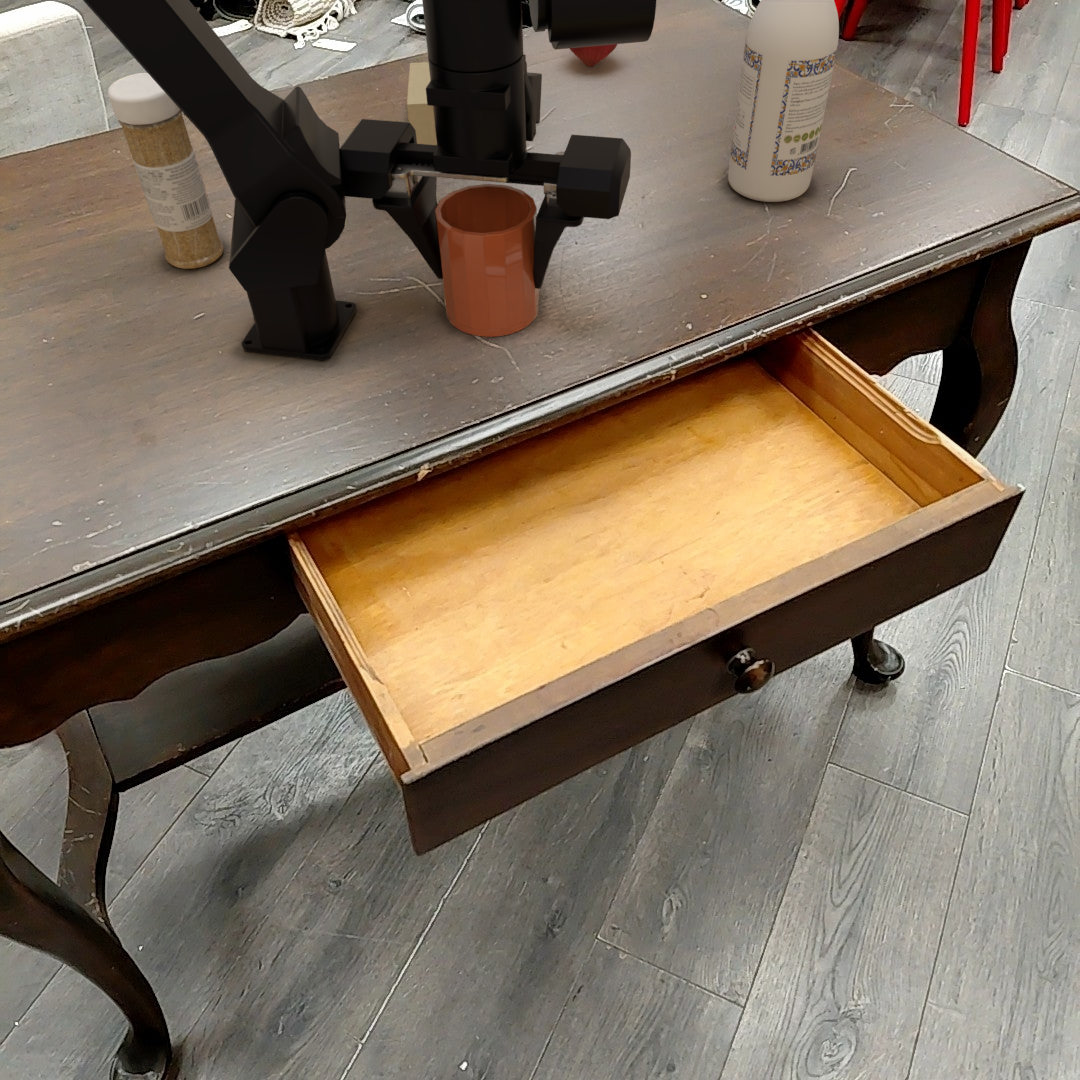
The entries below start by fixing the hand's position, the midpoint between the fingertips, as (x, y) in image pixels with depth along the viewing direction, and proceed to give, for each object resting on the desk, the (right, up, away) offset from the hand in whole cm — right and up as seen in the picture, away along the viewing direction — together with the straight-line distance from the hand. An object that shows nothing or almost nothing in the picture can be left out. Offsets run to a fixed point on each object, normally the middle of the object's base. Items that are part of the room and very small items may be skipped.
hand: (490, 280), depth 69 cm
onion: (+9, +30, +31) cm, 44 cm away
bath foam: (+23, +12, +14) cm, 29 cm away
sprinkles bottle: (-24, +4, +8) cm, 25 cm away
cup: (0, -2, +2) cm, 2 cm away
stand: (-4, +21, +22) cm, 31 cm away
